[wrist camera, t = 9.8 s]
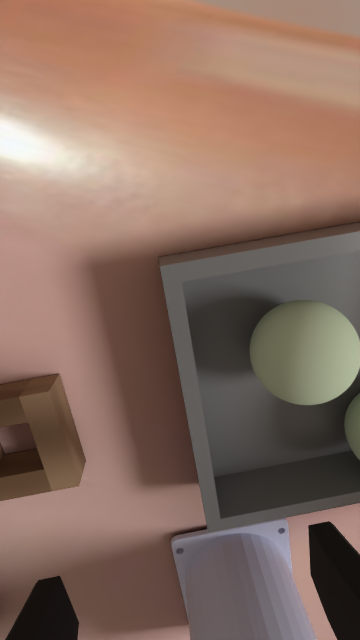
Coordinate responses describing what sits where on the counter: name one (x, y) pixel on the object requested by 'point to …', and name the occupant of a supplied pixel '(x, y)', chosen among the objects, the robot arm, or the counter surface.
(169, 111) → the counter surface
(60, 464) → the walnut stand
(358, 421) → the ball
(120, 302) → the counter surface
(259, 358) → the sage ball
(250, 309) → the charcoal tray
